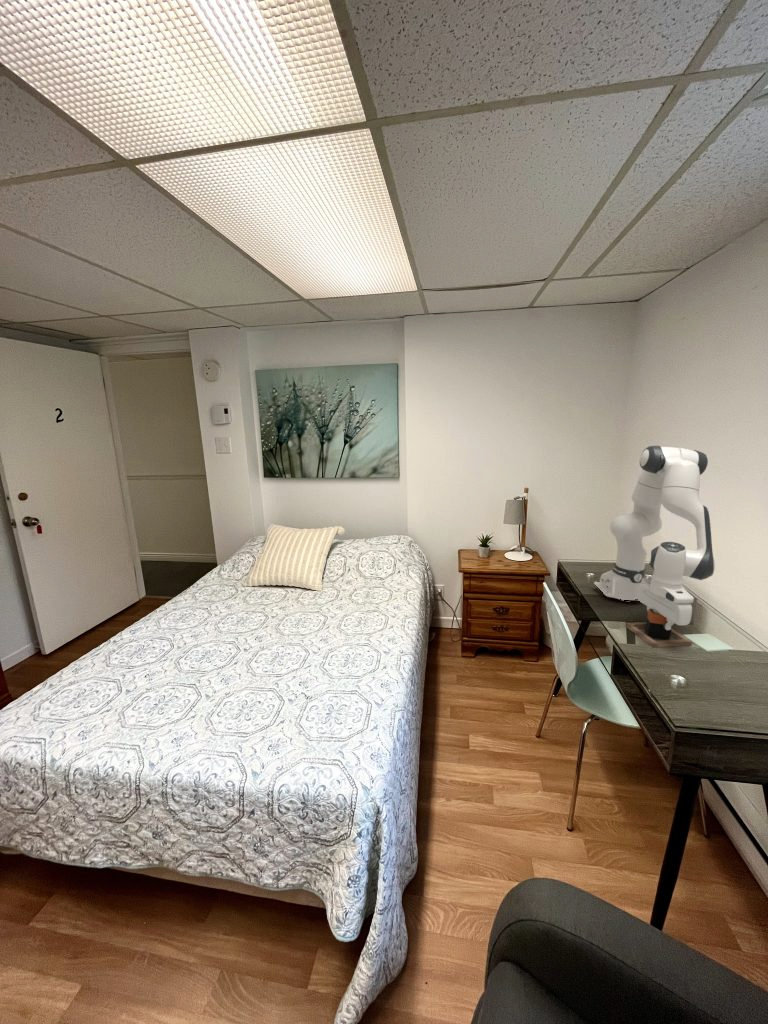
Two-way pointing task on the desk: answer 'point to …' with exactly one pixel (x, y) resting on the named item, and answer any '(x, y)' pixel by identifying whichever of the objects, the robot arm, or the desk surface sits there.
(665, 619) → the battery
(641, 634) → the dock
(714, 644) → the pad
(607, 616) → the desk surface
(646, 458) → the robot arm
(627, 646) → the desk surface
